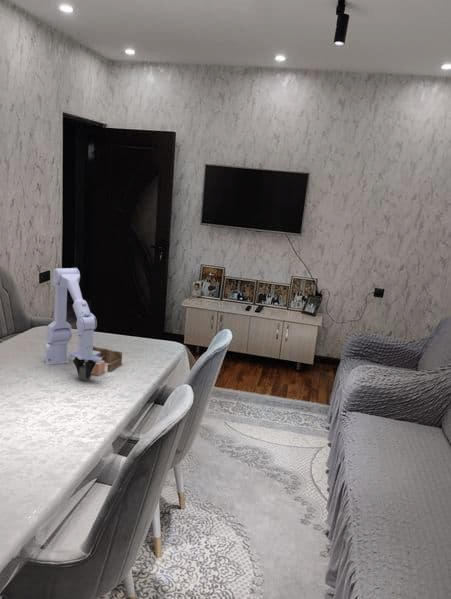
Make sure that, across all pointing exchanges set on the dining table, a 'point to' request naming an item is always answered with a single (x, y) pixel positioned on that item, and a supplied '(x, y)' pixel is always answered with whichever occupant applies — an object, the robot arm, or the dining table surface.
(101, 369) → the block
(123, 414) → the dining table surface
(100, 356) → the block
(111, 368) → the shelf lanes
